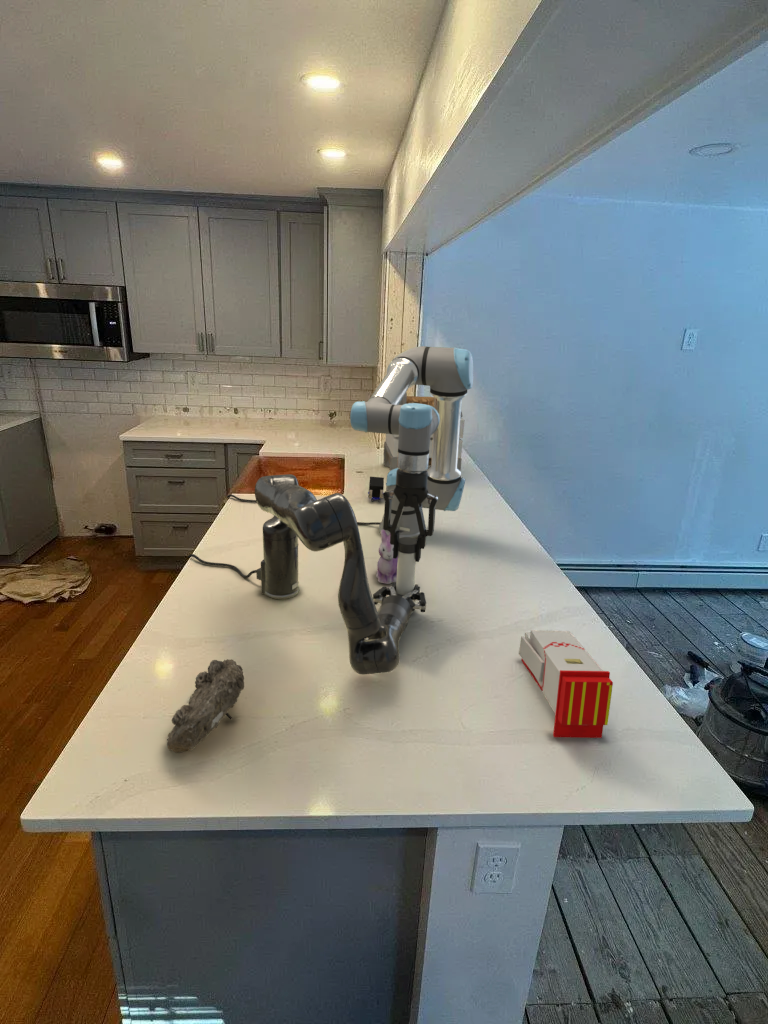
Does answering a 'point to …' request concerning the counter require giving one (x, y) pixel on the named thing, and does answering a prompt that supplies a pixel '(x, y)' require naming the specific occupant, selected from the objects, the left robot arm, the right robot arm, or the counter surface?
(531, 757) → the counter surface
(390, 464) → the tiered storage shelf
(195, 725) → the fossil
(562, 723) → the toy
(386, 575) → the figurine
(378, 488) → the figurine character
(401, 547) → the lid
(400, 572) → the jar
